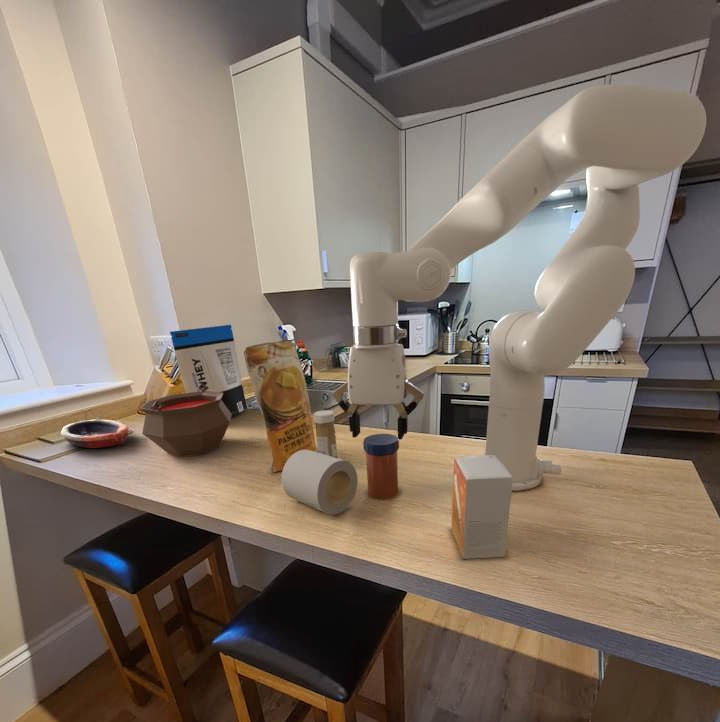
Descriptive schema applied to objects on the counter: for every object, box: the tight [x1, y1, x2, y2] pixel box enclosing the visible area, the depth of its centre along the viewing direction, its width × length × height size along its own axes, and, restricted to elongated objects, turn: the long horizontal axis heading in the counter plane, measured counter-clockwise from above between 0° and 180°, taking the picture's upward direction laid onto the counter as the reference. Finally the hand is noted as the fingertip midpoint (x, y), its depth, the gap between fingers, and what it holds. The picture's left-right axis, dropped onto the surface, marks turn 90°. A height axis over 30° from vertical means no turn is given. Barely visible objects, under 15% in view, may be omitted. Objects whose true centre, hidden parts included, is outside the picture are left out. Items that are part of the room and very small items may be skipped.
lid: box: [362, 433, 400, 455], centre depth 74 cm, size 6×6×2 cm
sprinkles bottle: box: [312, 409, 339, 459], centre depth 88 cm, size 5×5×14 cm
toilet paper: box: [281, 450, 359, 516], centre depth 73 cm, size 10×10×10 cm
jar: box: [365, 450, 399, 500], centre depth 76 cm, size 6×6×11 cm
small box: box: [450, 454, 513, 560], centre depth 58 cm, size 8×6×13 cm
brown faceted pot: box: [138, 382, 232, 458], centre depth 108 cm, size 24×24×16 cm
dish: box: [60, 417, 129, 449], centre depth 122 cm, size 16×31×5 cm, turn 52°
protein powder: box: [169, 324, 248, 419], centre depth 134 cm, size 10×24×30 cm, turn 149°
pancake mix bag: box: [243, 339, 317, 473], centre depth 91 cm, size 7×19×28 cm, turn 148°
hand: (378, 435), depth 73 cm, fingers open, 8 cm apart
